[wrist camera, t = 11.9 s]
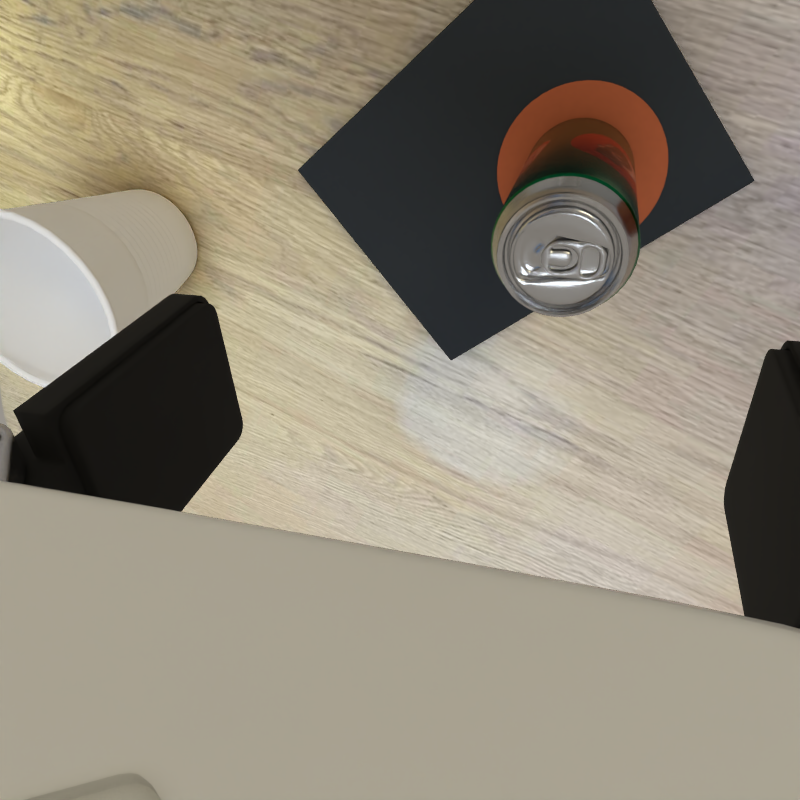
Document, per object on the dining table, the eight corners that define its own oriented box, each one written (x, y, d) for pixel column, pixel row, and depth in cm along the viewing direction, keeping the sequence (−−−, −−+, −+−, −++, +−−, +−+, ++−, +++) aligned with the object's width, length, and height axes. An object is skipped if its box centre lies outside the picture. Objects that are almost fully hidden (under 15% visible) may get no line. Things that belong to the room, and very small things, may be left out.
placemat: (588, -109, 26) (588, -110, 25) (753, 178, 29) (755, 181, 29) (300, 168, 35) (296, 170, 35) (452, 357, 39) (450, 361, 39)
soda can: (531, 113, 30) (490, 176, 20) (644, 116, 29) (656, 186, 19) (521, 219, 33) (481, 319, 23) (624, 226, 32) (626, 335, 22)
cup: (64, 227, 42) (-83, 293, 33) (130, 117, 36) (-26, 161, 28) (179, 335, 44) (68, 423, 35) (257, 246, 39) (150, 326, 30)
